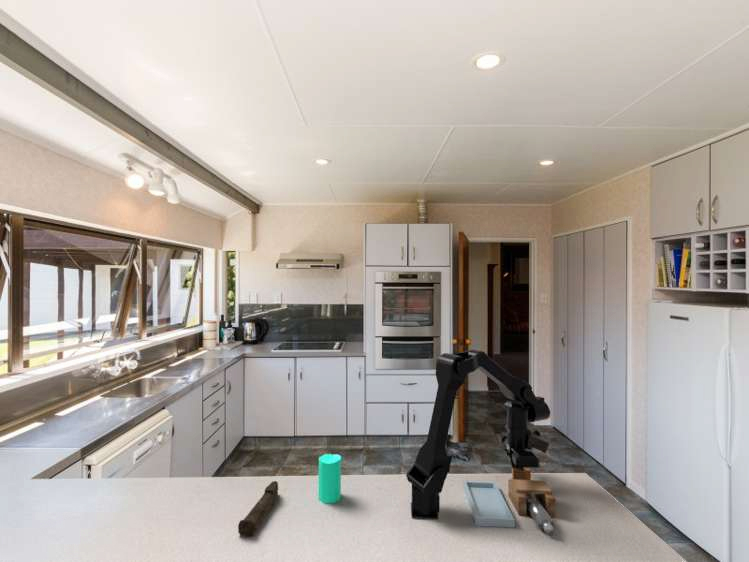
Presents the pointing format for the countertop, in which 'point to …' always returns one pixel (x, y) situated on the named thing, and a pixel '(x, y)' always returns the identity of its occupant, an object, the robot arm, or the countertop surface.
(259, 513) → the dark brown rod
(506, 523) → the tray
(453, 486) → the countertop surface
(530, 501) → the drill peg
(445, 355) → the robot arm
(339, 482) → the candle
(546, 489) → the socket block
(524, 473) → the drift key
